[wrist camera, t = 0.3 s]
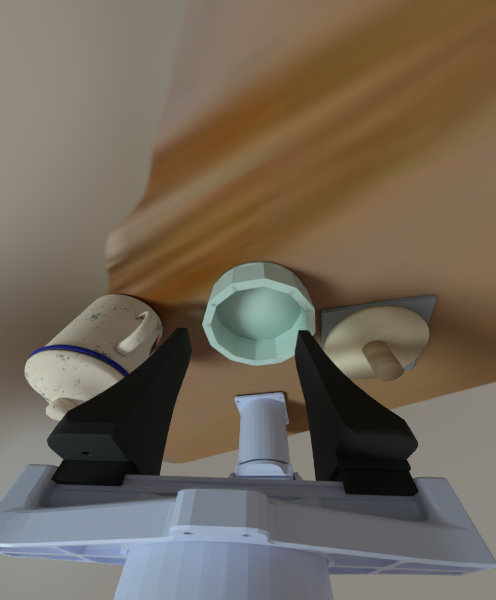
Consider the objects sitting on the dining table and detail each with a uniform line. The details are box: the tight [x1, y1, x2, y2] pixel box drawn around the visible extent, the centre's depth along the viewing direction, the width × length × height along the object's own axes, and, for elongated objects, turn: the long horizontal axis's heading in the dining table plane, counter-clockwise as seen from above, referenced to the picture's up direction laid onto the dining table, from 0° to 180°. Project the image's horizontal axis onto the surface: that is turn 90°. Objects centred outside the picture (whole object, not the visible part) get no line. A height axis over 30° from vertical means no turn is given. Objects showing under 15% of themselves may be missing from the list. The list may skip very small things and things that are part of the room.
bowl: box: [202, 261, 316, 366], centre depth 23 cm, size 11×11×4 cm
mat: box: [321, 294, 437, 370], centre depth 27 cm, size 12×12×1 cm
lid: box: [323, 305, 429, 381], centre depth 25 cm, size 12×12×4 cm
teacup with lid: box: [25, 294, 163, 421], centre depth 21 cm, size 12×9×12 cm
